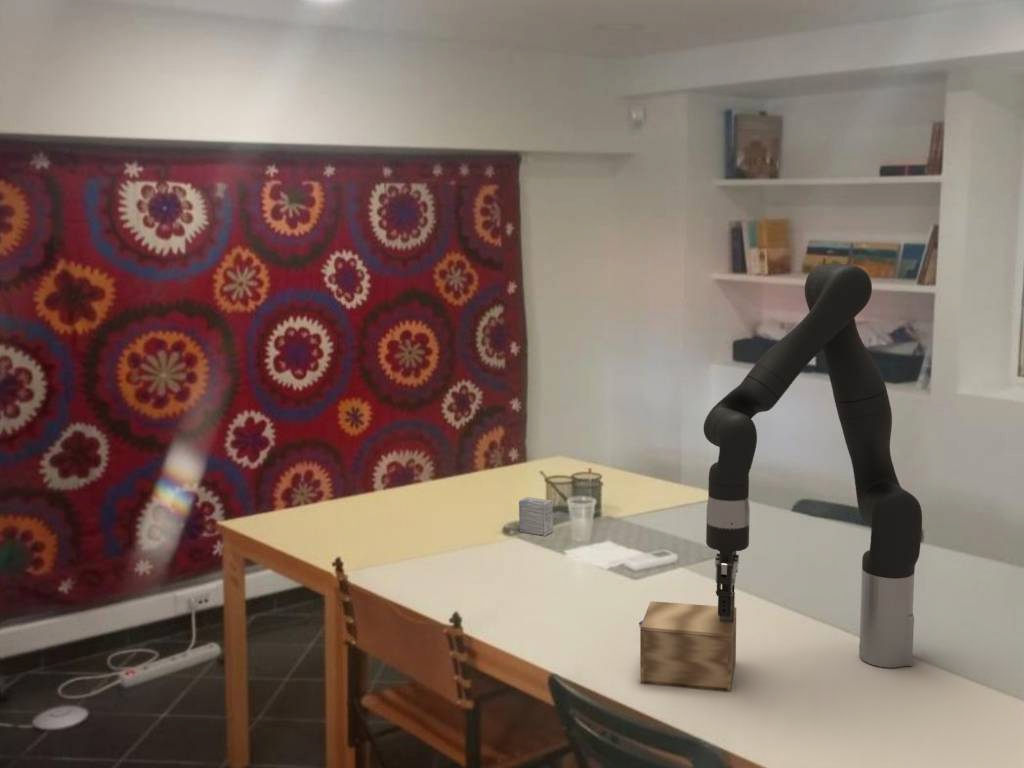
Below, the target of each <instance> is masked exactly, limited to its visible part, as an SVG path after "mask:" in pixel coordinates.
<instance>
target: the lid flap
mask: <svg viewBox="0 0 1024 768" xmlns="http://www.w3.org/2000/svg"><path fill="white" fill-rule="evenodd" d="M735 595H736V592H735V591H734V592H733V594H732V597H731V615H730V616H729V617H723V616H719V615H718V605H707V604H693V603H679V602H668V601H667V602H665V601H654V600H653V601H649V604H648V606H647V609H646V612H645V614H644V617H643V620H641V621H642V624H641V627H639V631H640V630H645V631H657V632H669V633H682V634H694V635H706V636H718V637H732V632H733V626H734V621H735V615H736V616H737V607H736V605H735V603H736V601H735V599H736V596H735Z"/></svg>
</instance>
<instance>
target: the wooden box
mask: <svg viewBox="0 0 1024 768" xmlns="http://www.w3.org/2000/svg"><path fill="white" fill-rule="evenodd" d="M639 631H640V633H639V634H640V635H639V636H640V637H639V639H640V641H639V642H640V651H639V652H640V655H639V656H640V658H639V659H640V664H639V665H640V668H639V669H640V676H639V677H640V680H639V681H640V684H644V685H655V686H665V687H674V688H675V687H676V688H687V689H696V690H697V689H698V690H706V691H707V690H708V691H719V692H728V693H730V692H731V691H732V686H733V681H734V680H733V679H734V674H735V669H736V660H737V657H736V656H737V614H736V615H735V621H734V626H733V632H732V637H718V636H706V635H694V634H682V633H669V632H657V631H645V630H640V629H639Z"/></svg>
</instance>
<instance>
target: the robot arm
mask: <svg viewBox="0 0 1024 768" xmlns="http://www.w3.org/2000/svg"><path fill="white" fill-rule="evenodd" d="M872 284H873V283H872V280H871V278H870V276H869V274H868V272H866V270H865V269H863V268H861V267H859V266H856V265H852V264H843V263H842V264H839V263H836V264H835V263H827V264H826V263H824V264H821V265H818V266H817V265H816V266H815V267H814V268H813V269H812V270H811V271H810V272H809V274H808V275H807V277H806V279H805V283H804V298H805V301H806V304H807V305H806V306H807V307H808V311H809V312H808V313H807V315H806V316H805V317H804V318H803V319H802V320H801V321H800V322H799V323H798V324H797V325H796V326H795V327H794V328H793V329H792V330H790V331H789V332H788V333H787V334H786V335H785V336H783V337H782V338H781V339H779V340H778V341H777V342H776V343H774V344H773V345H772V346H771V347H770V348H769V349H768V350H767V351H765V352H764V354H762V356H761V357H760V358H759V359H758V361H757V362H756V363H755V364H754V365H753V367H752V368H751V369H750V371H748V373H747V374H746V376H745V377H744V378H743V380H742V381H741V383H739V384H738V385H737V386H736V387H734V389H732V390H731V391H730V392H729V393H728V394H727V395H725V396H724V397H723V398H722V399H721V400H719V401H718V402H717V403H716V404H715V405H714V406H713V407H712V408H711V410H710V411H709V412H708V414H707V416H706V417H705V420H704V424H703V433H704V436H705V438H706V440H707V441H708V442H709V443H711V445H713V446H715V447H718V448H719V451H718V459H717V462H714V463H712V465H711V466H710V468H709V471H708V488H707V489H708V492H707V493H708V496H707V504H706V527H705V528H706V529H705V530H706V533H705V534H706V535H705V537H706V539H705V543H706V546H707V547H708V548H710V549H712V550H716V551H717V553H716V556H715V558H714V559H715V560H714V567H715V583H716V590H715V594H716V596H717V606H718V615H719V616H723V617H729V616H730V615H731V597H732V594H733V592H735V584H736V578H737V573H738V571H739V570H738V569H739V564H740V563H739V561H740V555H739V554H737V552H742V551H745V550H746V549H748V548H749V545H750V514H751V510H750V508H751V507H750V501H749V499H750V496H749V493H750V492H749V491H750V480H749V479H750V477H749V476H750V471H751V468H752V464H753V461H754V457H755V453H756V449H757V445H758V444H757V442H758V433H757V428H756V425H755V422H754V421H753V420H752V418H754V417H755V416H756V415H757V414H759V413H763V412H769V411H771V409H773V408H774V407H775V406H776V404H777V403H778V402H779V401H780V400H781V398H782V397H783V395H784V394H785V393H786V391H787V390H788V389H790V387H791V385H792V384H793V383H794V381H795V380H796V379H797V378H798V376H799V375H800V374H801V373H802V371H803V370H804V369H805V368H806V367H807V365H808V364H809V363H810V362H811V361H812V360H813V359H814V358H815V356H817V354H818V353H819V352H820V351H821V350H822V353H823V356H824V361H825V365H826V370H827V373H828V377H829V381H830V386H831V389H832V390H831V391H832V395H833V400H834V405H835V408H836V410H837V411H836V413H837V415H838V419H839V422H840V426H841V428H842V434H843V436H844V437H843V438H844V441H845V444H846V448H847V451H848V454H849V458H850V460H851V465H852V470H853V478H854V485H855V494H856V503H857V508H858V512H859V515H860V517H861V519H862V520H863V521H864V523H865V524H866V525H868V527H870V528H871V530H870V544H869V550H866V551H864V553H863V554H862V559H861V561H862V563H861V587H860V588H861V590H860V592H861V593H860V615H859V619H860V620H859V644H858V647H859V648H858V649H859V650H858V656H859V658H860V659H861V660H862V661H863V662H865V663H867V664H869V665H872V666H876V667H881V668H891V669H892V668H893V669H895V668H903V667H912V666H913V657H914V656H913V653H914V652H913V650H914V628H915V627H914V626H915V616H914V596H915V595H914V592H915V573H916V571H915V570H916V564H917V562H918V560H919V558H920V552H921V542H922V531H923V530H922V529H923V528H922V527H923V511H922V505H920V502H919V500H918V499H917V498H916V496H914V495H913V494H912V493H911V492H909V491H907V490H905V489H904V488H903V487H901V484H900V481H899V479H898V476H897V473H896V471H895V470H896V469H895V468H894V463H893V461H892V455H891V437H892V427H893V414H892V407H891V406H892V405H891V403H890V397H889V393H888V390H887V386H886V383H885V380H884V377H883V374H882V371H880V369H879V367H878V365H877V364H876V362H875V360H874V359H873V357H872V355H871V354H870V352H869V351H868V349H867V347H866V346H865V344H864V343H863V340H862V338H861V337H860V333H859V330H858V328H857V324H856V323H857V322H856V317H857V316H858V314H860V313H861V312H862V311H863V310H864V309H865V308H866V306H867V305H868V303H869V301H870V300H871V296H872V291H873V287H872V286H873V285H872ZM718 552H719V553H718Z"/></svg>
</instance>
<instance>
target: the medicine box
mask: <svg viewBox="0 0 1024 768" xmlns="http://www.w3.org/2000/svg"><path fill="white" fill-rule="evenodd" d="M553 510H554V509H553V500H550V499H543V498H538V497H530V496H529V497H528V496H527V497H524V498H522V499H520V500H518V511H519V512H518V514H519V515H518V519H519V521H518V522H519V533H525V534H529V535H530V534H532V535H538V536H543V537H546V536H548V535H550V534H552V533H553V532H554V520H553V519H554V518H553V517H554V515H553V514H554V513H553Z"/></svg>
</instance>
